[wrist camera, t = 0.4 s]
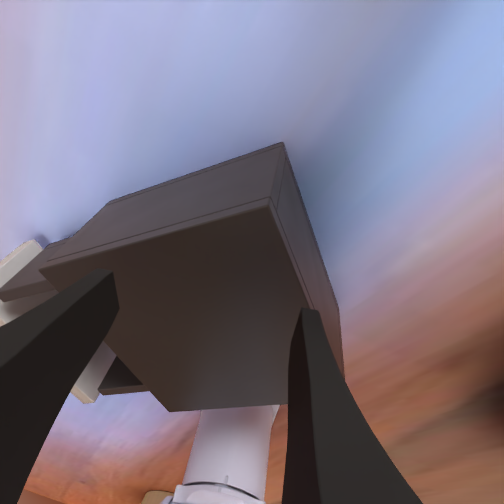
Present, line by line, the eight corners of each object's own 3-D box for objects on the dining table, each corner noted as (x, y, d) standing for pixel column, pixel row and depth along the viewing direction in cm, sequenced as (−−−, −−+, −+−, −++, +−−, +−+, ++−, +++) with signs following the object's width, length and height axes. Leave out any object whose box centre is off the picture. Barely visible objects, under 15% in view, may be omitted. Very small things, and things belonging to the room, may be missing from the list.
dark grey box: (198, 331, 29) (168, 412, 23) (109, 201, 22) (36, 270, 16) (339, 308, 25) (347, 401, 19) (282, 141, 18) (268, 204, 12)
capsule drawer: (79, 351, 32) (42, 407, 28) (-17, 255, 26) (-86, 307, 22) (225, 328, 27) (207, 393, 23) (147, 202, 21) (101, 255, 16)
